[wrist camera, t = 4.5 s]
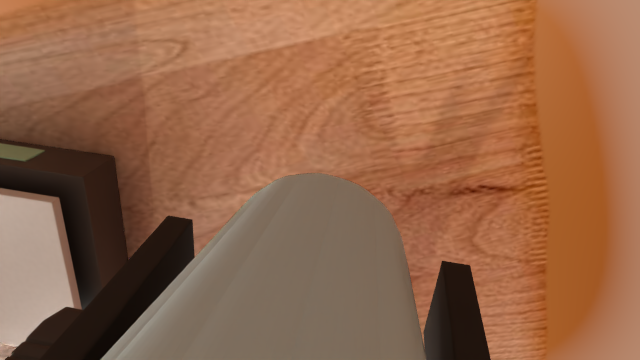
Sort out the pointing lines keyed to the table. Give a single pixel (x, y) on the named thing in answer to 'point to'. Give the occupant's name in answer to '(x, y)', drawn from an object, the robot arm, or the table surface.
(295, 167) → the table surface
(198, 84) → the table surface
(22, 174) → the scale
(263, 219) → the cup
